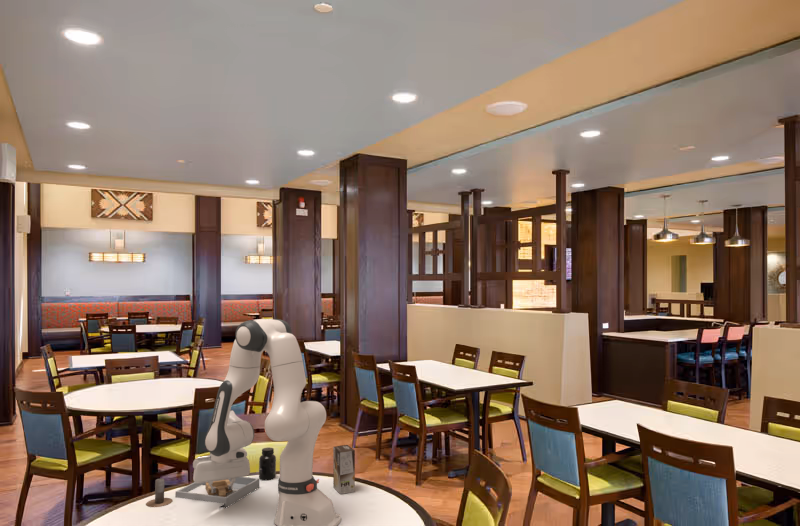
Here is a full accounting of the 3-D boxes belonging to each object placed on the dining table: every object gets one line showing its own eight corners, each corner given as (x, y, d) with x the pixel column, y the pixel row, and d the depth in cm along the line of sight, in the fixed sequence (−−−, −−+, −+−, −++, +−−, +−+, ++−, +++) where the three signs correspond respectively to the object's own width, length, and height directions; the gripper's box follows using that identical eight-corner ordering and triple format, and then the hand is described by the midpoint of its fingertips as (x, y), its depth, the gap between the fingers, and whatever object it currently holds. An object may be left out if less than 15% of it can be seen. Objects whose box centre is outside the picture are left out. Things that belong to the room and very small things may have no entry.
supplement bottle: (255, 479, 228) (256, 450, 228) (264, 474, 234) (264, 446, 235) (270, 481, 226) (270, 451, 226) (278, 476, 232) (279, 447, 233)
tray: (259, 487, 218) (259, 478, 219) (226, 508, 198) (226, 498, 198) (212, 481, 225) (212, 473, 225) (175, 501, 204) (175, 491, 204)
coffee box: (355, 492, 213) (355, 450, 214) (339, 494, 211) (340, 452, 212) (347, 484, 222) (347, 444, 223) (332, 487, 219) (332, 446, 220)
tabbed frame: (234, 497, 206) (234, 489, 206) (210, 501, 202) (210, 492, 202) (228, 486, 217) (228, 479, 217) (205, 490, 213) (205, 482, 213)
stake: (178, 503, 202) (178, 477, 202) (160, 512, 193) (161, 485, 194) (158, 500, 205) (158, 474, 205) (139, 509, 196) (140, 482, 197)
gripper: (194, 459, 199) (193, 498, 198) (251, 452, 209) (250, 489, 208) (192, 455, 205) (191, 493, 204) (247, 448, 214) (247, 484, 213)
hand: (221, 491), depth 206 cm, fingers open, 5 cm apart
